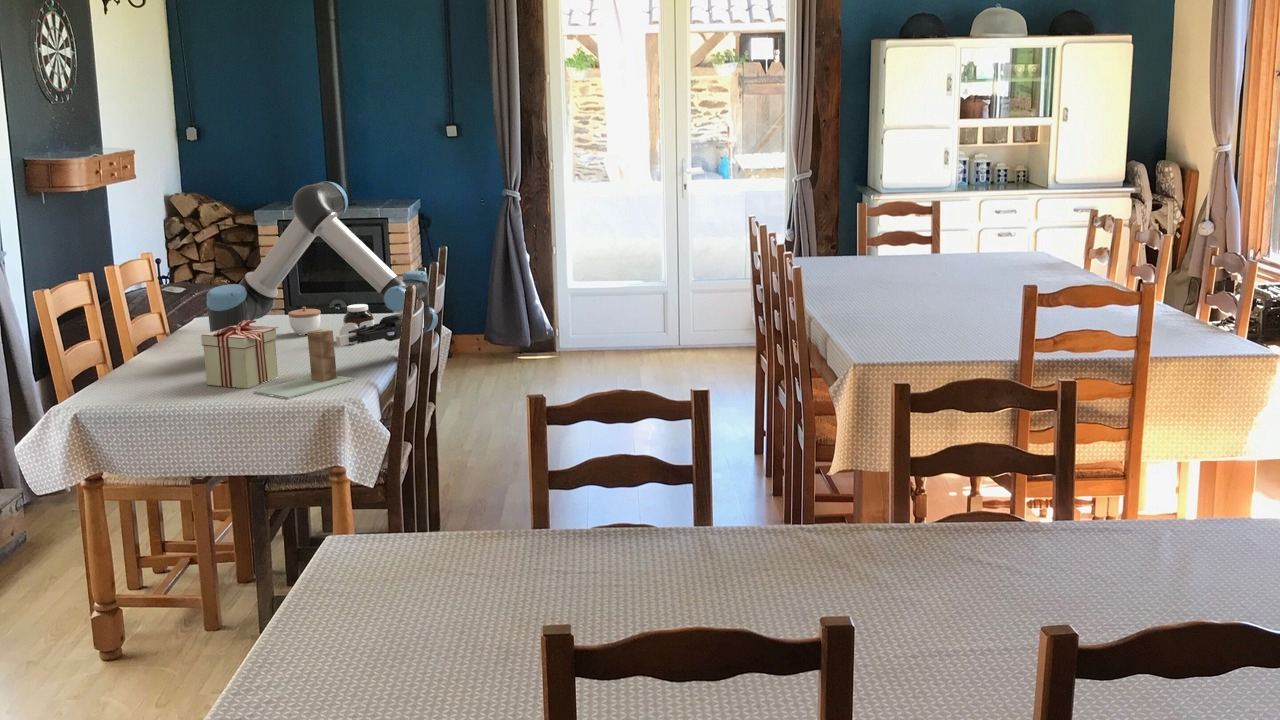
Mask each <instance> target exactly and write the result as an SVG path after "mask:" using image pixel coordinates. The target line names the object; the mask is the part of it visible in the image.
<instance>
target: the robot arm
mask: <svg viewBox="0 0 1280 720" xmlns="http://www.w3.org/2000/svg"><path fill="white" fill-rule="evenodd" d="M348 205H349V199H348V194H346V190H344V188H342V186H340V185H339V184H338V183H336V182H333V181H332V182H331V181H320V182H318V183H313V184H307V185H304V186H302V187H301V188H299V189H298V190H297V192H295V194H294V195H293V198H292V209H293V213H294V217H293V219H292V220H291V222H290V223H289V224H288V225H287V227H286V228H285V229H284V231H283V232H282V234H281V235H280V237H278V239H277V240H276V241H275V243H274V245H273V246H272V247H271V248H270V249H269V251H268V252H267V254H266V255H265V256H264V258H263V259H262V260H261V262H260V263H259V264H258V266H257V267H256V269H255V270H254V271H249V272H247V273H246V274H245V275H244V276H243V278H242V279H241V281H239V283H238V284H237V283H232V284H222V285H219V286H216V287H213V288H211V289H209V290H208V292H207V293H206V307H207V313H208V314H207V316H208V324H209V325H208V326H209V333H210V332H213V331H217V330H220V329H224V328H227V327H229V326H237V324H239V323H240V322H241V321H243V320H254V321H256V320H258V319H261V318H263V317H265V316H266V315H268V314H269V313H270V312H271V310H272V309H273V307H274V306H275V305H274V304H275V301H276V298H277V297H278V295H279V290H278V287H279V286H280V285H281V284H282V282H283V281H284V279H285V278H286V277H287V275H288V274H289V273H290V271H291V270H292V269H293V268H294V267H295V265H296V264H297V262H298V261H299V259H300V258H301V257H302V256H303V254H304V253H305V252H306V250H307V249H308V248H309V246H310V245H311V243H312V242H313V241H314V239H315V238H316V237H320V238H321V239H322V240H323V241H324V242H325V243H326V244H327V245H328V246H329V247H330V248H331V249H332V250H334V251H335V252H336V253H337V254H338V255H339V256H340V257H341V259H343V260H345V262H346V263H348V265H350V267H352V269H354V270H355V271H356V272H357V273H358V275H360V276H361V277H362V278H363V279H364V280H365V281H367V283H369V284H370V285H371V287H373V288H374V290H376V291H377V292H378V293H379V294H380V295H381V296H382V297H383V302H384V305H385V306H386V308H387V309H388V310H390V311H392V312H400V313H395V314H392V315H388V316H384V317H383V318H381V319H380V321H379V323H376V324H375V323H374V325H373V326H369V327H367V326H366V325H364V326H362V327H360V328H357V329H354V330H352V331H349V332H348V333H349V334H345V335H341V336H339V335H338V336H335V337H336V338H335V339H336V346H337V347H343V346H348V345H349V344H351V345H353V344H352V343H355V342H356V343H368V342H373V341H379V340H385V341H388V342H393V341H396V340H397V341H398V340H399V339H401V338H400V336H401V327H402V313H403V311H404V310H403V308H404V299H405V291H406V287H408V286H412V285H415V286H416V290H417V297H418V298H420V299H422V300H423V302H424V328H423V332H424V333H428V332H429V331H432V330H434V329H435V328H436V327H437V325H438V323H439V322H438V321H439V316H438V314H437V313H436V310H435V309H434V308H433V307H430V298H429V297H430V296H429V294H430V293H429V281H428V274H427V272H426V271H424V270H409V271H406V272H403V274H402V278H401V277H400V276H399V275H397V274H396V273H395V272H394V271H393V270H392V269H391V268H390V267H389V266H388V265H387V264H386V263H385V262H384V261H383V260H382V259H380V257H379V256H378V255H377V254H376V253H375V252H374V251H372V250H371V249H370V247H368V246H367V245H366V244H365V243H364V242H363V241H362V240H361V239H359V237H358V236H357V235H356V234H355V233H353V231H351V229H349V227H347V226H346V225H345V223H343V222H342V221H341V220H340V219H339V218H341V217H342V216H343V215H344V214H345V213H346V211H347V210H348V207H349V206H348ZM401 311H402V312H401ZM424 333H423V334H424ZM357 341H358V342H357ZM362 341H364V342H362ZM356 343H355V344H356Z"/></svg>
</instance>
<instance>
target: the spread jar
mask: <svg viewBox="0 0 1280 720" xmlns="http://www.w3.org/2000/svg"><path fill="white" fill-rule="evenodd" d="M346 309H347V310H346V311H347V312H346V313H345V315H344V316H343V319H342V320H343V322H342V324H343V325H342V326H341V328H340V330H339V334H338V336H341V335H345V334H349V333H348V332H349V331H352V330H354V329H357V328H360V327H362V326H364V325H366V326H367V327H369V326H373V325H374V324H375V319H374V315H373V314H372V313H371V311H369V305H368V304H366V303H357V304H355V303H354V304H350V305H347V306H346ZM356 343H359V342H358V341H357V342H355V343H352V344H351V345H355V344H356ZM361 343H364V342H363V341H362V342H361Z"/></svg>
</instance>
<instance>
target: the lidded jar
mask: <svg viewBox="0 0 1280 720" xmlns="http://www.w3.org/2000/svg"><path fill="white" fill-rule="evenodd" d="M287 313H288V320H289V325H290V328H291V329H292V331H293V332H294V333H295V334H296V335H297V334H300V335H299V336H306V335H305V334H307V332H311V331H315V330H319V329H320V327H321V322H322V321H321V319H322V317H321V313H322V312H321V310H320V309H317V308H307V307H306V306H302V308H300V309H295V310H291V311H288V312H287Z"/></svg>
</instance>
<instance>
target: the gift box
mask: <svg viewBox="0 0 1280 720" xmlns="http://www.w3.org/2000/svg"><path fill="white" fill-rule="evenodd" d="M256 322H257V320H243V321H241V322H240V323H239V324H237V326H229V327H227V328H224V329H220V330H217V331H213V332H210V331H209V332H206V333H202V334H201V335H200V339H201V340H200V341H201V342H200V343H201V346H203V355H204V366H205V367H204V368H205V377H206V378H205V379H206V385H207V386H208V385H209V386H215V387H223V388H224V387H225V388H235V387H236V388H237V389H246V388H247V389H250V387H251V388H254V387H255V385H256V386H259V385H261V383H262V384H264V383H263V382H265V381H267V382H269V381H268V380H270V381H272V380H271V379H273V380H275V379H277V378H276V377H278V378H279V374H278V373H279V371H278V361H277V360H278V359H277V346H276V345H277V344H276V340H277V330H276V329H279V328H280V327H278V326H276V327H273V326H264V325H263V326H262V325H261V326H259V325H258V326H257V325H256V326H255V325H250V324H253V323H256ZM274 378H275V379H274ZM265 383H266V382H265ZM258 384H259V385H258ZM253 386H254V387H253ZM236 388H235V389H236Z"/></svg>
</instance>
